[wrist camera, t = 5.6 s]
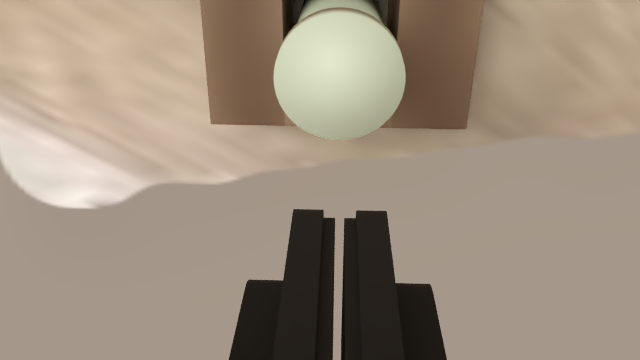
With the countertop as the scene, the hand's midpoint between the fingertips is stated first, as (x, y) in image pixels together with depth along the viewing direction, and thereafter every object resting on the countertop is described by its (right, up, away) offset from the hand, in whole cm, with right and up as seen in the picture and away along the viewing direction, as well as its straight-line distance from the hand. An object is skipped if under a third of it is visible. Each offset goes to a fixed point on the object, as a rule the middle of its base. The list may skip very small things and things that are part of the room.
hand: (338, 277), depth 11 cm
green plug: (+1, +10, +20) cm, 22 cm away
